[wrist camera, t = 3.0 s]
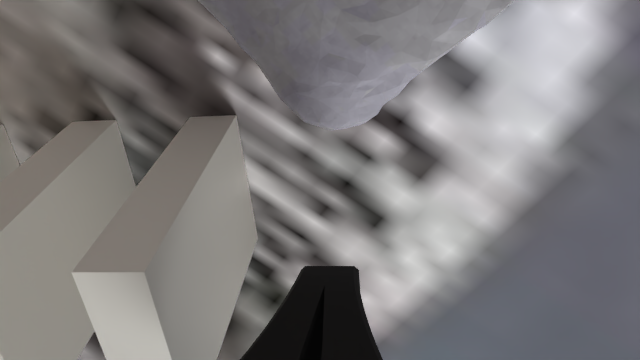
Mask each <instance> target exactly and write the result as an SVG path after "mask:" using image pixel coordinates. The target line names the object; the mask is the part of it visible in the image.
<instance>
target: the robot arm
mask: <svg viewBox="0 0 640 360" xmlns="http://www.w3.org/2000/svg"><path fill="white" fill-rule="evenodd" d="M240 360H383V359H382V357H381V355H380V352H379V350H378V347H377V345H376V343H375V340H374V337H373V335H372V332H371V329H370V326H369V323H368V320H367V317H366V314H365V311H364V307H363V303H362V299H361V294H360V282H359V270H358V269H357V268H356V267H354V266H305V267H304V268H303V269H302V270H301V272H300V273H299V275H298V277H297V279H296V281H295V283H294V284H293V286H292V288H291V290H290V291H289V293H288V295H287V296H286V298H285V299H284V301H283V303H282V304H281V306H280V307H279V309H278V310H277V311H276V313H275V314H274V316H273V317H272V319H271V320H270V322H269V323H268V325H267V326H266V327H265V329H264V330H263V331H262V333H261V334H260V335H259V337H258V338H257V339H256V340H255V342H254V343H253V344H252V346H251V347H250V348H249V349H248V351H247V352H246V353H245V354H244V356H243V357H242V358H241V359H240Z"/></svg>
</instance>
